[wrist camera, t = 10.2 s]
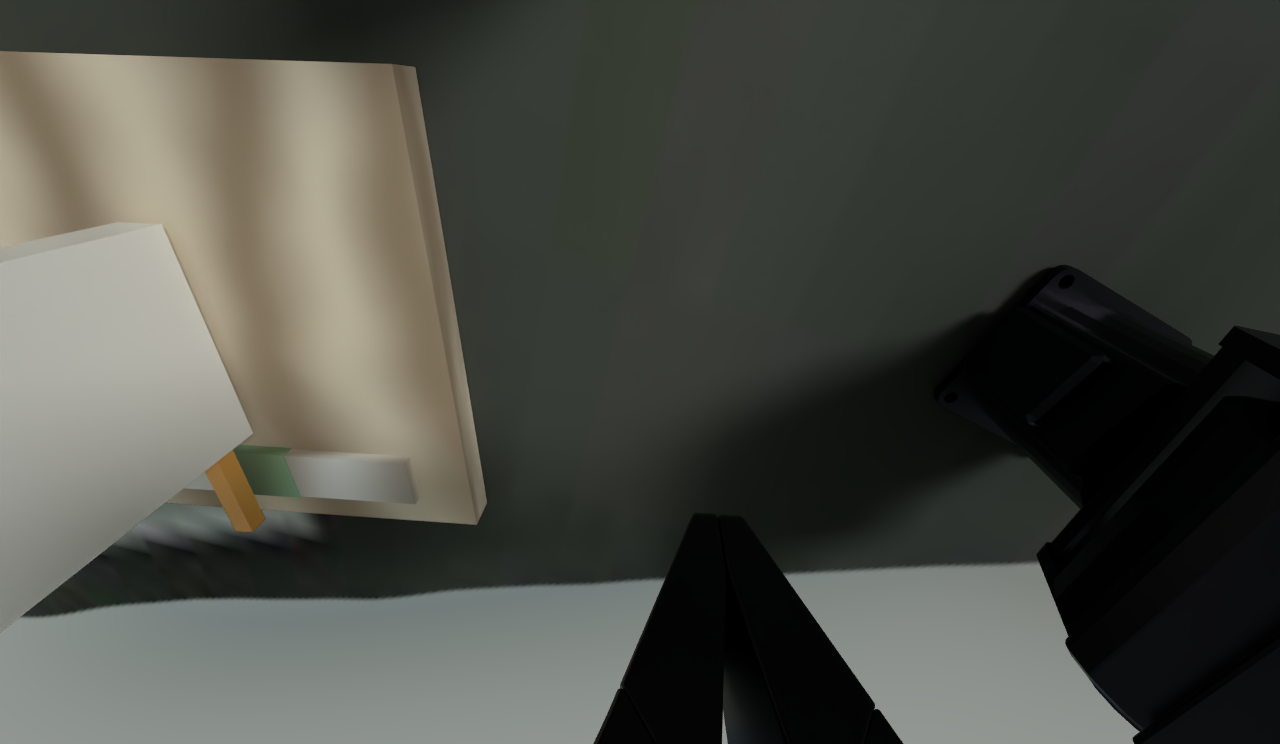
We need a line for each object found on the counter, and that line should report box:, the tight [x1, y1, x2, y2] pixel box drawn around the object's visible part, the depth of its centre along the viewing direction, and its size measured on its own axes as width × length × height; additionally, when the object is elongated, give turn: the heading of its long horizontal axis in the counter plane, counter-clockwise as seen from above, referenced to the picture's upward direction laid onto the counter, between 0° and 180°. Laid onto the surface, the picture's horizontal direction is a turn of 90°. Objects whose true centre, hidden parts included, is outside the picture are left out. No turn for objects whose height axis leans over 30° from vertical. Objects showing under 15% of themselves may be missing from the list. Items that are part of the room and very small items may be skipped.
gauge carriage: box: [0, 222, 265, 632], centre depth 16 cm, size 6×13×11 cm, turn 178°
